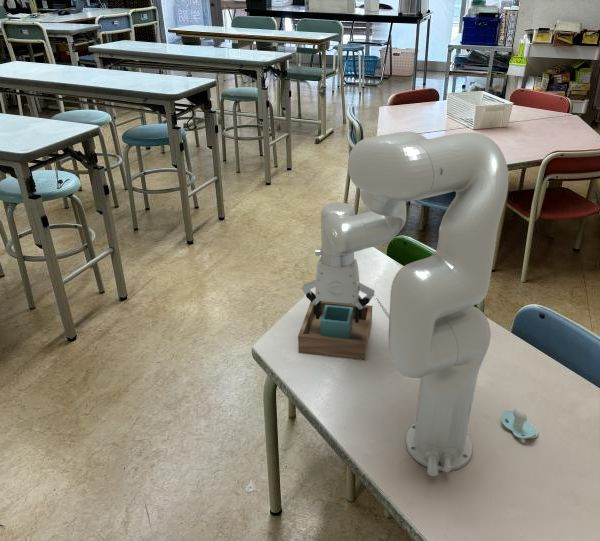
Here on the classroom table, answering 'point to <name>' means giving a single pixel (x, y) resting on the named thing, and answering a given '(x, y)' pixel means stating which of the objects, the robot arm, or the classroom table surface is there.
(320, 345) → the big crate
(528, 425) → the pacifier
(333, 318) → the small crate
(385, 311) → the magic wand
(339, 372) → the classroom table surface
